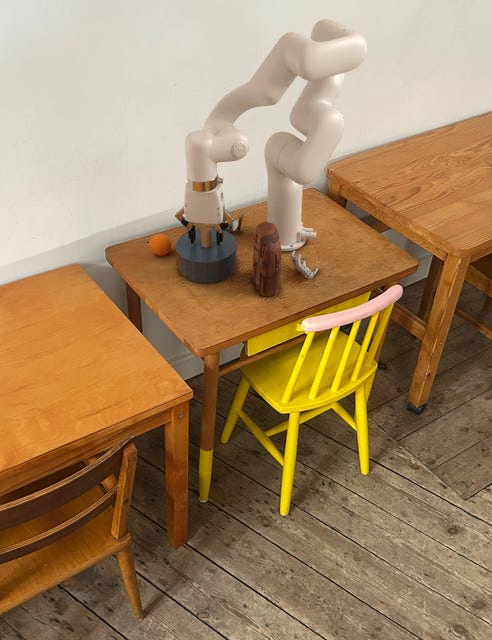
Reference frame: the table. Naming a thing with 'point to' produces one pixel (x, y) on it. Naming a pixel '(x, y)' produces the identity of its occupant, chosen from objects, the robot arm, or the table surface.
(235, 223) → the eagle figurine
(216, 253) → the pan lid
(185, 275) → the dark blue round container
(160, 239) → the orange ball
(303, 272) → the soldier figure
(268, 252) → the wooden figurine
